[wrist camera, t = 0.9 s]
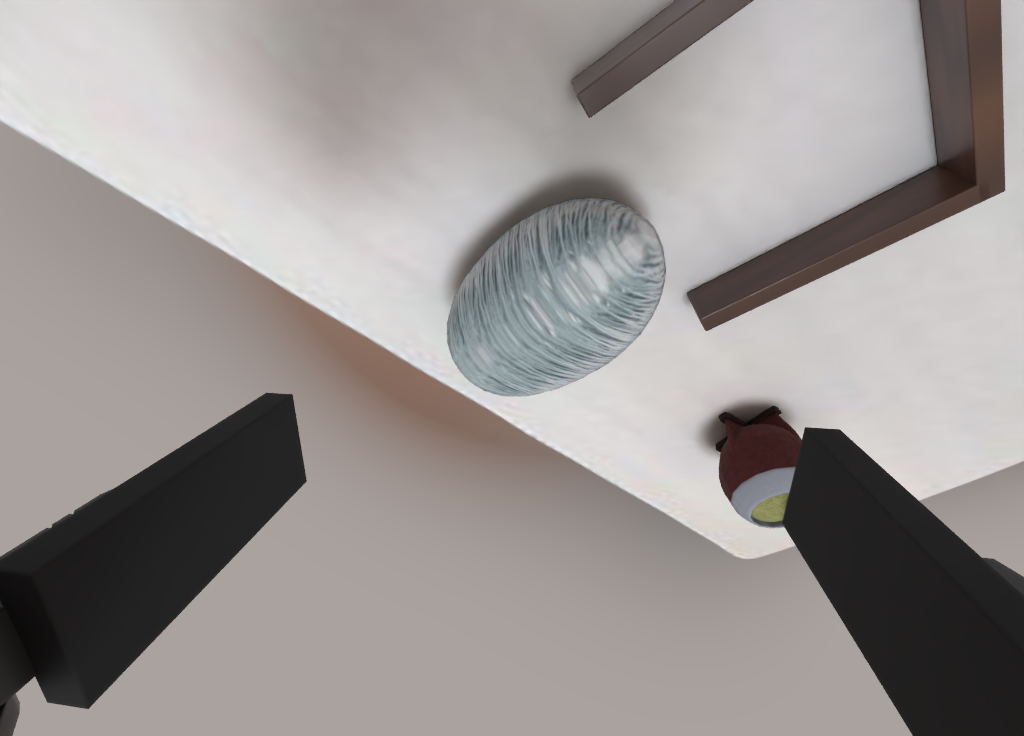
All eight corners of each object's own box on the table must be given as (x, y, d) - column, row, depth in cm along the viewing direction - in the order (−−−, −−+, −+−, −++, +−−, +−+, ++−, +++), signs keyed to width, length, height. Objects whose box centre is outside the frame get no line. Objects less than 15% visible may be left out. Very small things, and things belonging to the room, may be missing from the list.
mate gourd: (686, 435, 42) (748, 615, 30) (762, 380, 37) (868, 568, 26) (742, 464, 44) (818, 640, 33) (819, 416, 40) (937, 601, 29)
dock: (570, 80, 24) (576, 95, 22) (936, -200, 18) (997, -221, 15) (692, 305, 33) (706, 331, 30) (964, 170, 27) (1005, 191, 24)
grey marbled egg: (516, 407, 35) (498, 459, 25) (436, 301, 34) (385, 312, 24) (678, 293, 32) (730, 302, 22) (596, 175, 31) (611, 129, 21)
